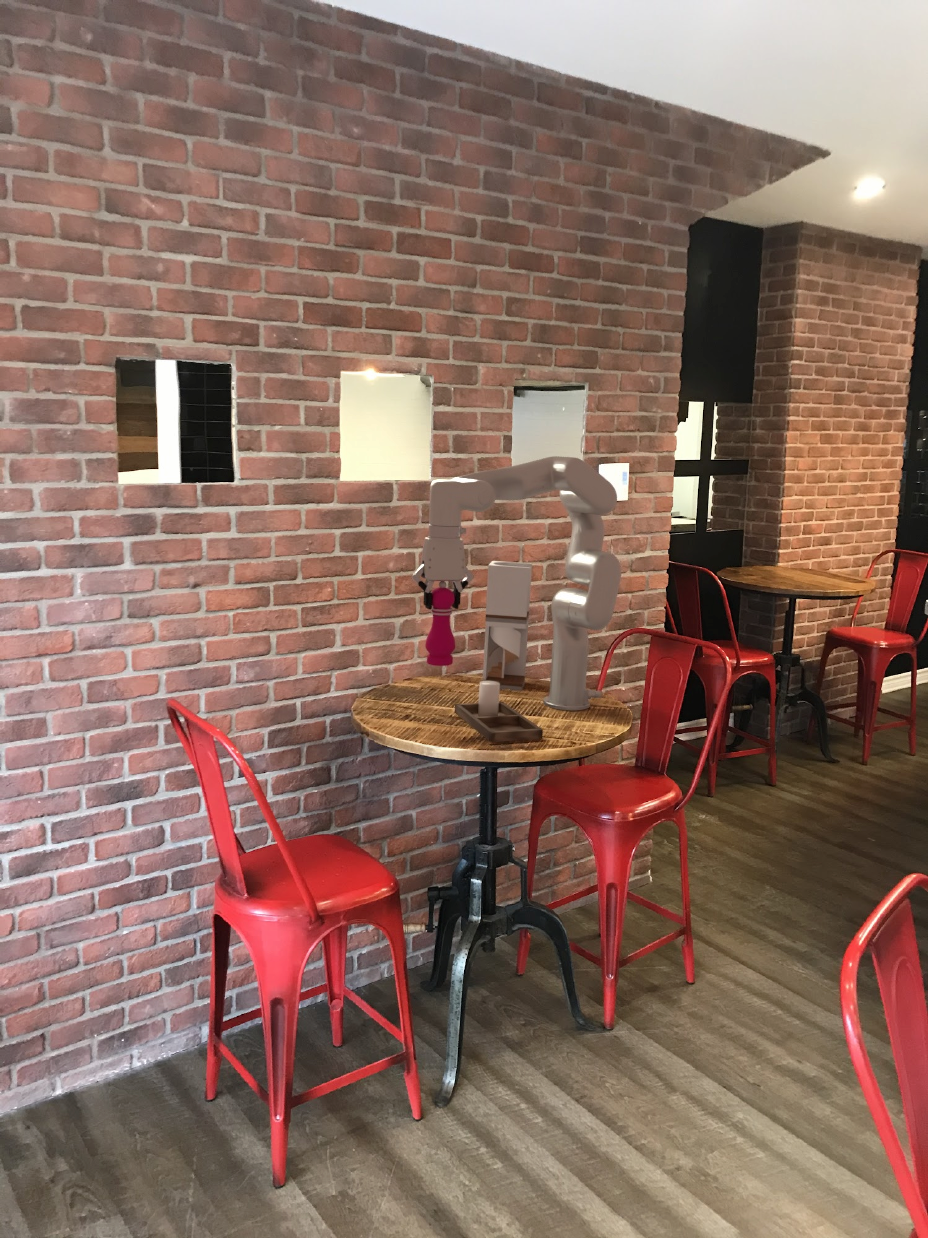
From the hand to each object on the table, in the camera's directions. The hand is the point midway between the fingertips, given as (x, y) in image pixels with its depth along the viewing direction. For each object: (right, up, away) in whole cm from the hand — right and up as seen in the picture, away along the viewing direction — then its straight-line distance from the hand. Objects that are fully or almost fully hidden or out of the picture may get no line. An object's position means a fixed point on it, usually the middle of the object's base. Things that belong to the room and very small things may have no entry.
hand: (441, 607), depth 234 cm
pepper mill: (-1, -14, +3) cm, 14 cm away
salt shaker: (+11, -28, +11) cm, 32 cm away
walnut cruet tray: (+13, -29, +5) cm, 33 cm away
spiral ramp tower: (+17, -22, +49) cm, 56 cm away
